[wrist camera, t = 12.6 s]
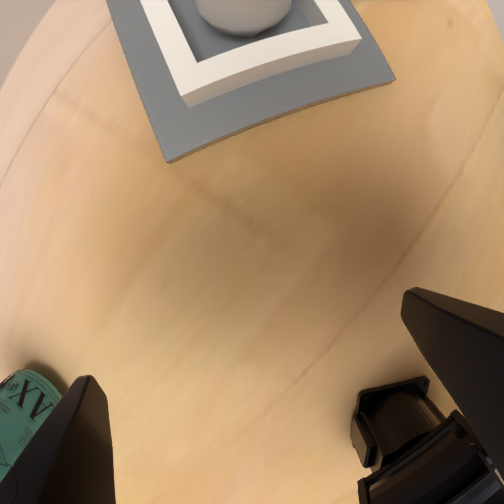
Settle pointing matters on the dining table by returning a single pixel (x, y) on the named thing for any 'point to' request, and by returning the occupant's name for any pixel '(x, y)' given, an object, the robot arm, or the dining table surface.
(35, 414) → the beverage bottle
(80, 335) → the dining table surface
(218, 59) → the dock
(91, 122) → the dining table surface
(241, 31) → the salt shaker
